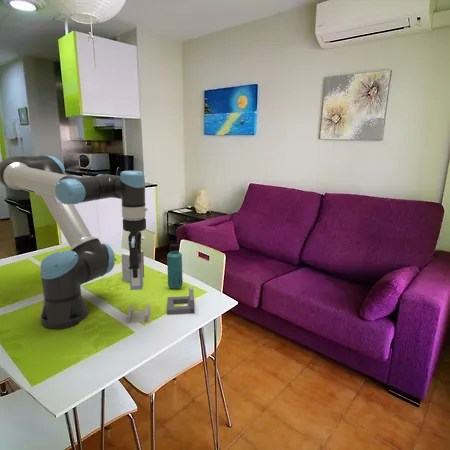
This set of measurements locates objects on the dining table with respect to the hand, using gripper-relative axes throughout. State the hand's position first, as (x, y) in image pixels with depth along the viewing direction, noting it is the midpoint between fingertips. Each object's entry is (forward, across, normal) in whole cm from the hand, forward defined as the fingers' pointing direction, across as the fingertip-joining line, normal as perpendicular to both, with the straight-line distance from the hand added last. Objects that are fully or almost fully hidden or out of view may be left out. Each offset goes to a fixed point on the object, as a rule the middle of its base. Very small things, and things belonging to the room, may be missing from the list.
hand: (136, 282), depth 113 cm
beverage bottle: (+14, +23, -13) cm, 30 cm away
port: (+14, +5, -15) cm, 21 cm away
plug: (+2, 0, 0) cm, 2 cm away
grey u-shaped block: (+14, 0, 0) cm, 14 cm away
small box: (+14, +35, +6) cm, 38 cm away
